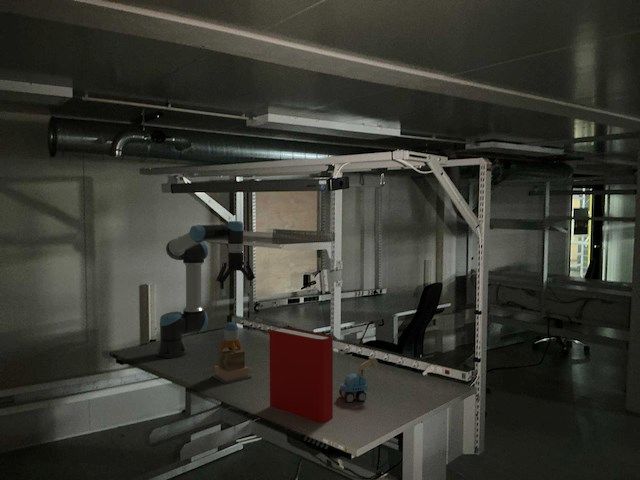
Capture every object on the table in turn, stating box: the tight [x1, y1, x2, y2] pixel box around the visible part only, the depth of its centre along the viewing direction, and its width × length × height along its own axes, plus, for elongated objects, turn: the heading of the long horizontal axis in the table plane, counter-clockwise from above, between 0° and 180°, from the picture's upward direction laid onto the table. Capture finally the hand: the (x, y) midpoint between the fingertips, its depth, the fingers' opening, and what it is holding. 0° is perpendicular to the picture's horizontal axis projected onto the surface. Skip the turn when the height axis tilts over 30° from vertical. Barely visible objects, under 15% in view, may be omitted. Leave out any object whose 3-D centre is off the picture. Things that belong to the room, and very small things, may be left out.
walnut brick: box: [217, 346, 246, 371], centre depth 244 cm, size 10×9×8 cm
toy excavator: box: [338, 356, 379, 403], centre depth 216 cm, size 9×17×17 cm, turn 107°
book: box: [268, 325, 334, 424], centre depth 201 cm, size 27×8×32 cm, turn 51°
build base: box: [211, 365, 252, 385], centre depth 245 cm, size 14×14×5 cm
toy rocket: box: [219, 321, 242, 354], centre depth 242 cm, size 10×11×15 cm
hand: (236, 294), depth 253 cm, fingers open, 13 cm apart
